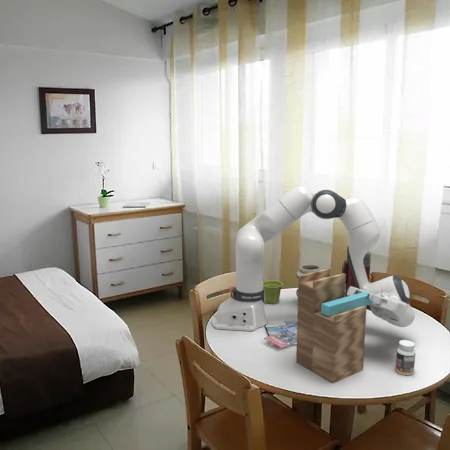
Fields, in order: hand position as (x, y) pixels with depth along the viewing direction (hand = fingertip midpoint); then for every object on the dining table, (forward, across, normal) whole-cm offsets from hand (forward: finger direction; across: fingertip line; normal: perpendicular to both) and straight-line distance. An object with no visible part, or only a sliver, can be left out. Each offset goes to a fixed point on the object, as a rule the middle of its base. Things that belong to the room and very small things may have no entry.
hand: (362, 293), depth 158 cm
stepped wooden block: (-2, -3, +26) cm, 26 cm away
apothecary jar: (-31, -46, +10) cm, 56 cm away
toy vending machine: (-50, -40, -2) cm, 64 cm away
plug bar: (+4, 0, +6) cm, 8 cm away
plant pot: (-22, -59, +15) cm, 64 cm away
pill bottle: (-17, +14, +18) cm, 28 cm away
